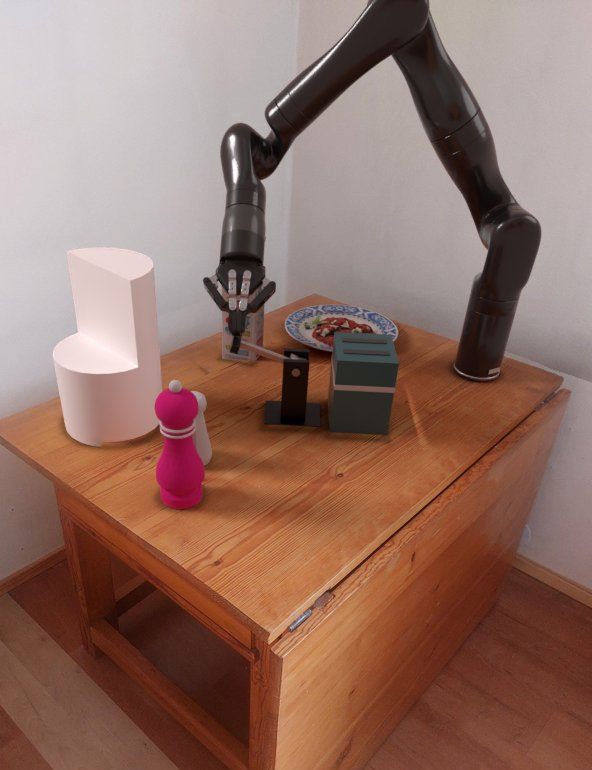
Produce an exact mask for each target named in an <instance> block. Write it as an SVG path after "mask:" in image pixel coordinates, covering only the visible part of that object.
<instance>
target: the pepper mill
mask: <svg viewBox="0 0 592 770" xmlns="http://www.w3.org/2000/svg"><path fill="white" fill-rule="evenodd" d="M191 391H192V390H190V389H188V388H185V387H183V384H182V382H181V381H180V380H178V379H172V380H171V381H169V384H168V388H166V389H163V391H162V392H161V393H160V394H159V395H158V397H157V398H156V401H155V414H156V416H157V418H158V419H159V420H160V423H159V432H160V434H162V436H163V447H162V452H161V455H160V456H159V459H158V461H157V463H156V468H155V479H156V482H157V484H158V485H159V489H160V490H159V491H160V499H161V502H162V503H163V504H164V505H165V506H166V507H169V508H171V509H176V510H185V509H189V508H192V507H195V506H196V505H198V504H199V503H200V502H201V500H202V498H203V485H202V483H203V482H204V481H205V478H206V470H205V466H204V465H203V462H202V459H201V458H200V456H199V454H198V452H197V450H196V448H195V446H194V443H193V433H194V432H195V430H196V426H195V423H196V421H195V418H196V416H197V414H198V410H199V407H198V401H197V398H196V396H195V395H194V394H193V393H192V392H191Z"/></svg>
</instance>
